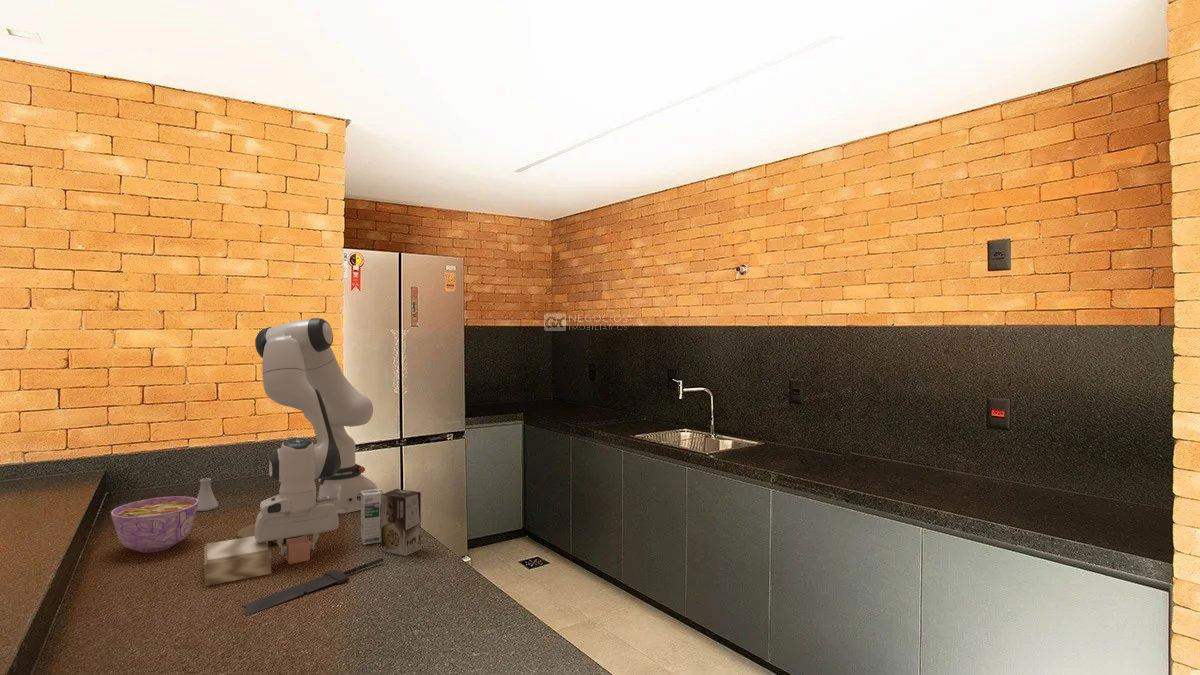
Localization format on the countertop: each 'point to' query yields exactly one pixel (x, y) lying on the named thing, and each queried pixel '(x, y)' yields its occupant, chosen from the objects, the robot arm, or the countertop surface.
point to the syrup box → (371, 516)
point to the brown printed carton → (401, 522)
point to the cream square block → (236, 560)
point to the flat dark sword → (303, 589)
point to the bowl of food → (154, 522)
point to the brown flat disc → (250, 532)
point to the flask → (206, 496)
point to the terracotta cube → (298, 549)
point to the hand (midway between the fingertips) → (297, 551)
